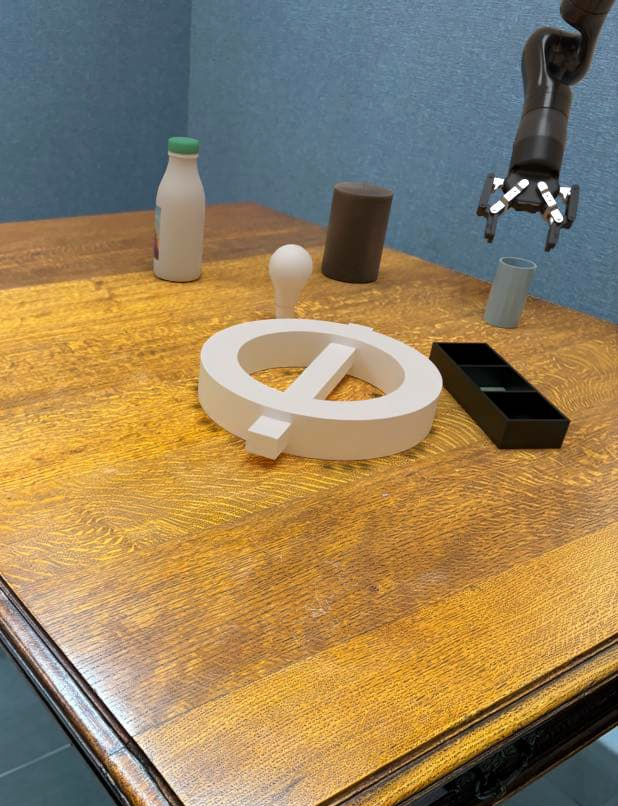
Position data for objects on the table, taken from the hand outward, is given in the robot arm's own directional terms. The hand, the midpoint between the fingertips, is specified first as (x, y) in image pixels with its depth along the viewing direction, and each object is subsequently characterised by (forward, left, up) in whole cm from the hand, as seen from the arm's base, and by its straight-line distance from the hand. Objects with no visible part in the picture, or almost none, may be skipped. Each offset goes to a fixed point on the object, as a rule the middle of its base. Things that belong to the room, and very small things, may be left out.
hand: (519, 244), depth 123 cm
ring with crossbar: (+39, +31, -11) cm, 51 cm away
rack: (+17, +32, -10) cm, 38 cm away
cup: (+2, +4, -10) cm, 11 cm away
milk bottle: (+50, -14, -11) cm, 53 cm away
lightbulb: (+37, +6, -11) cm, 39 cm away
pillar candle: (+20, -17, -11) cm, 28 cm away
